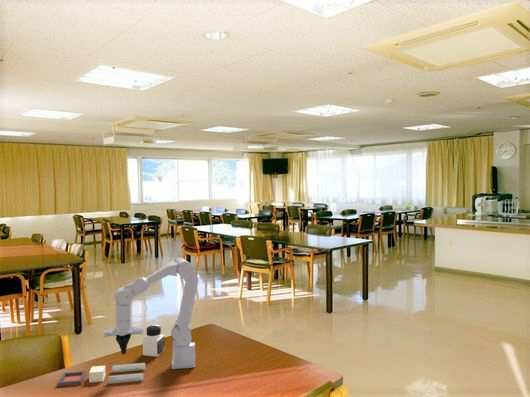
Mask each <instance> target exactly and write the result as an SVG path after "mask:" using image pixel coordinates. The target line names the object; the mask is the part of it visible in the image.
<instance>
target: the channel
mask: <svg viewBox="0 0 530 397" xmlns="http://www.w3.org/2000/svg"><path fill="white" fill-rule="evenodd" d="M111 368H112V373H113V374H114V373H124V372H125V373H126V372H134V371H146V362H140V363H127V364H114V365H112V366H111ZM143 381H144V373H143V372H142V373H141V372H139V373H129V374H128V373H127V374H119V375H118V374H117V375H109V376H108V385H109V384H111V385H112V384H120V383H133V382H143Z"/></svg>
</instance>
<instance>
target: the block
mask: <svg viewBox="0 0 530 397" xmlns="http://www.w3.org/2000/svg"><path fill="white" fill-rule="evenodd" d="M106 373H107V372H106V365H95V366H91V368H90V370H89V372H88V377H89V378H88V380H89V381H88V382H89V383H98V382H100V383H101V382H104V380H105V378H106Z"/></svg>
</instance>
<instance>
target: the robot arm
mask: <svg viewBox="0 0 530 397" xmlns="http://www.w3.org/2000/svg"><path fill="white" fill-rule="evenodd" d="M178 275H179V276H180V277H181V278H182V279H183V281H184V287H183V292H182V293H183V294H182V297H181V302H180V307H179V311H178V312H179V313H178V317H177V319H176V320H175V323H174V326H173V327H172V329H171V331H170V332H171V333H170V335H171V337H172V338H173V341H172V359H171V370H176V369H180V370H181V369H189V368H195V367H196V360H197V357H196V356H197V355H196V342H194V341H193V342H192V340H193V339H192V338H193V337H192V325H191V320H192V314H193V310H194V304H195V299H196V294H197V290H198V284H199V278H198V274H197V272H196V268H195V266H194V265H193V264H192V263H191V262H190V261H187V260H186V259H185V258H183V257H177V258H175V259H174V260H171V261H169V262H168V263H167V264H165V265H164V266H162V267H161V268H158V269H157V270H156V271H155V272H152V273H151V274H150V275H148V276H146V277H143V276H141V277H138V276H137V277H135V280H134V281H132V282H131V283H128V284H125V285H123V287H119V288H117V289H116V290H115V292H114V295H113V296H114V297H113V298H114V299H115V328H113V329H108V330H104V331H103V338H107V337H115V340H116V342H117V344H118V346H119V348H120V351H121V355H126V354H127V347H128V344H129V342H130V339H131V336H132V335H141V336H142V335H144V327H132V307H131V302H132V301H133V299H134V298H136V297H138V296H140V295H142V294H143V293H145V292H147V291H149V289H150V286H151V285H154V283H156V282H158V281H161V280H162V279H165V278H166V277H167V276H172V277H177V276H178Z"/></svg>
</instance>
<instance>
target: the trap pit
mask: <svg viewBox="0 0 530 397" xmlns="http://www.w3.org/2000/svg"><path fill="white" fill-rule="evenodd" d="M86 376H87V371H86V370H84V371H83V370H81V371H72V372H71V371H70V372H64V373H63V374H62V375H61V377H60V378H59V381H58V383H57V384H58V385H57V387H68V386H79V385H82V384H83V381H84V379H85V378H86Z"/></svg>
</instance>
